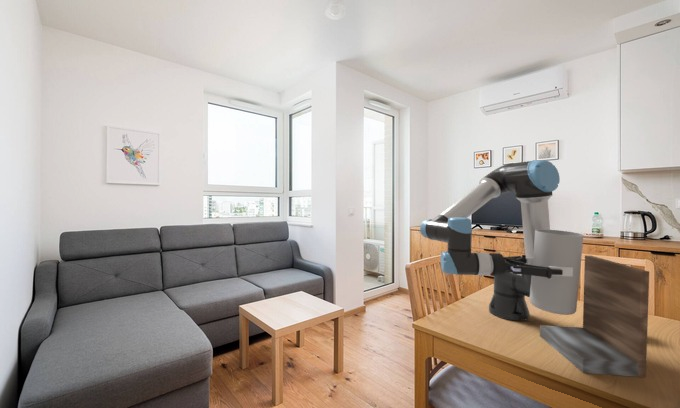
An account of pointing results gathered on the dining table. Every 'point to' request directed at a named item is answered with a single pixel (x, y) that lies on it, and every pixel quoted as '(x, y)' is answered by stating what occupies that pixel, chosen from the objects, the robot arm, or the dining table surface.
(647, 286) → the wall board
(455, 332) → the dining table surface
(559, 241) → the cylinder vase
